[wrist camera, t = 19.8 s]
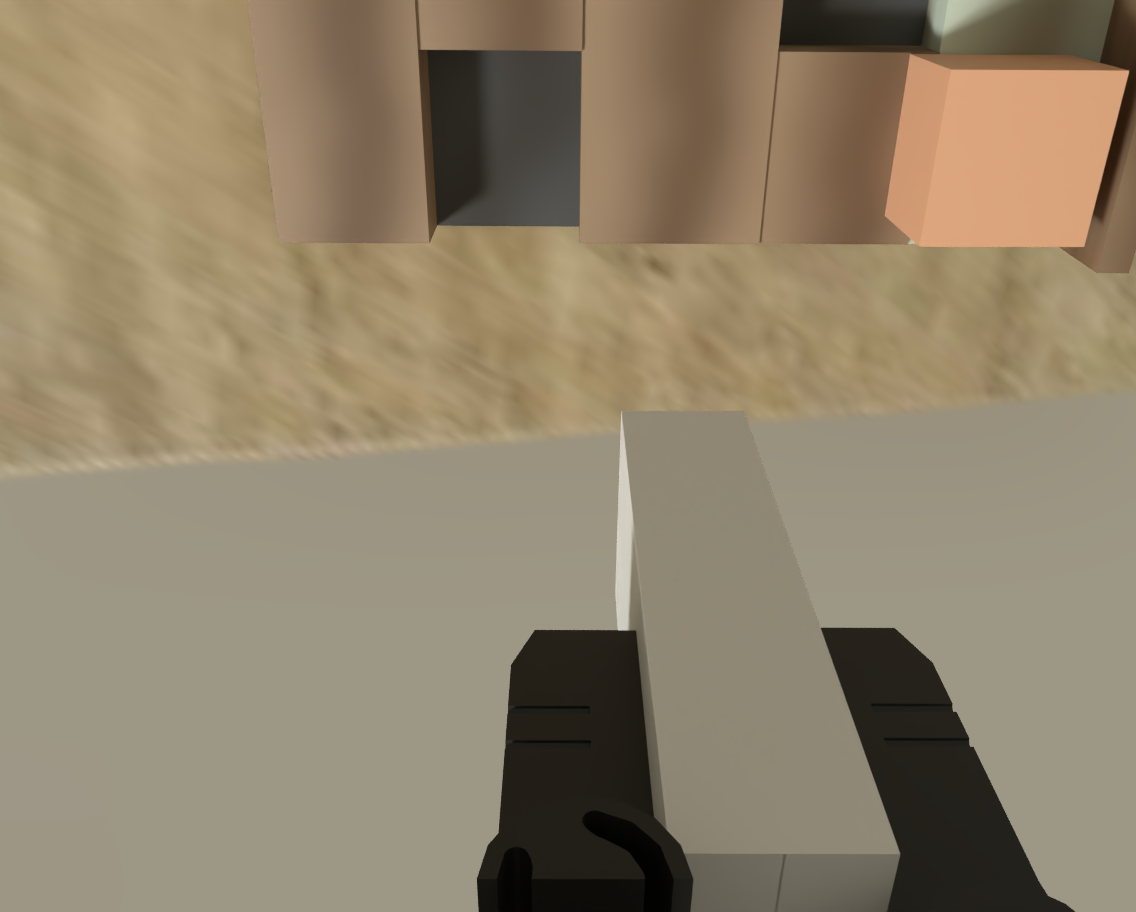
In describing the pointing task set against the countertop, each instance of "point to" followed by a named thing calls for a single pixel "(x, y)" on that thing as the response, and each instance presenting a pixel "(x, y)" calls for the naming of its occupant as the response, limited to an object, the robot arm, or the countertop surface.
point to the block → (1002, 149)
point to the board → (636, 114)
